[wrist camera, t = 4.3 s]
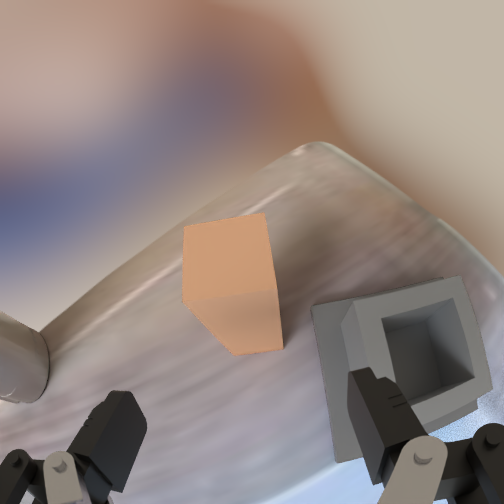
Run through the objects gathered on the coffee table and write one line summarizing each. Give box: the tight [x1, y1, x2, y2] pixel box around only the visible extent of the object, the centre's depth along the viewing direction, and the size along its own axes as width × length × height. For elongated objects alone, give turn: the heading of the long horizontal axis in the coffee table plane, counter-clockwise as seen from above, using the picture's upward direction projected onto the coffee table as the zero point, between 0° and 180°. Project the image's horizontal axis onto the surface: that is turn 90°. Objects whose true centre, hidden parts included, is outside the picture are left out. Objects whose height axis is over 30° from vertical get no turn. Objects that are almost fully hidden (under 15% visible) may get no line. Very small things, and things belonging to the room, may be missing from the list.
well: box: [311, 275, 493, 463], centre depth 17 cm, size 13×13×6 cm
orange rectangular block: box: [182, 213, 283, 356], centre depth 18 cm, size 4×4×12 cm
